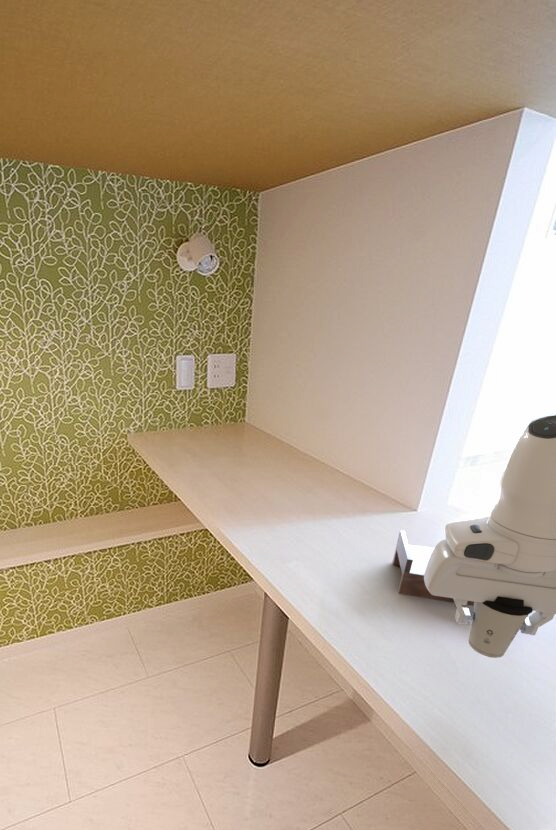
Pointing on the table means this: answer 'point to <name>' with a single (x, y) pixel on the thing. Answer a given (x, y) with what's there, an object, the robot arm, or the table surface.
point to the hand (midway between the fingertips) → (492, 626)
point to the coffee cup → (496, 625)
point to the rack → (414, 569)
